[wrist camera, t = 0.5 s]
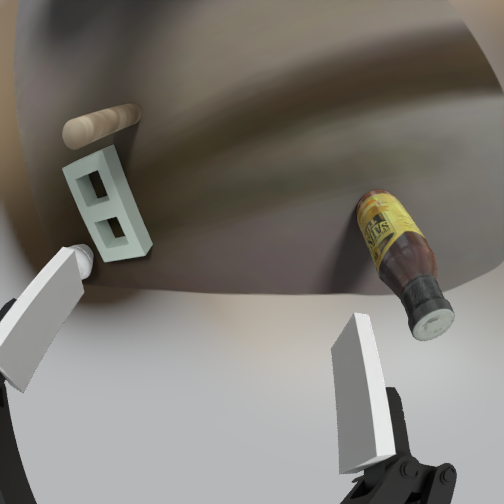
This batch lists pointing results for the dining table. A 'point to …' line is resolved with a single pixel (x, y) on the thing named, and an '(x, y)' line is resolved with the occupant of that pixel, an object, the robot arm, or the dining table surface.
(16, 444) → the robot arm
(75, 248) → the muffin
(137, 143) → the dining table surface
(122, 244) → the hole block
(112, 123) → the peg
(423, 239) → the sauce bottle
